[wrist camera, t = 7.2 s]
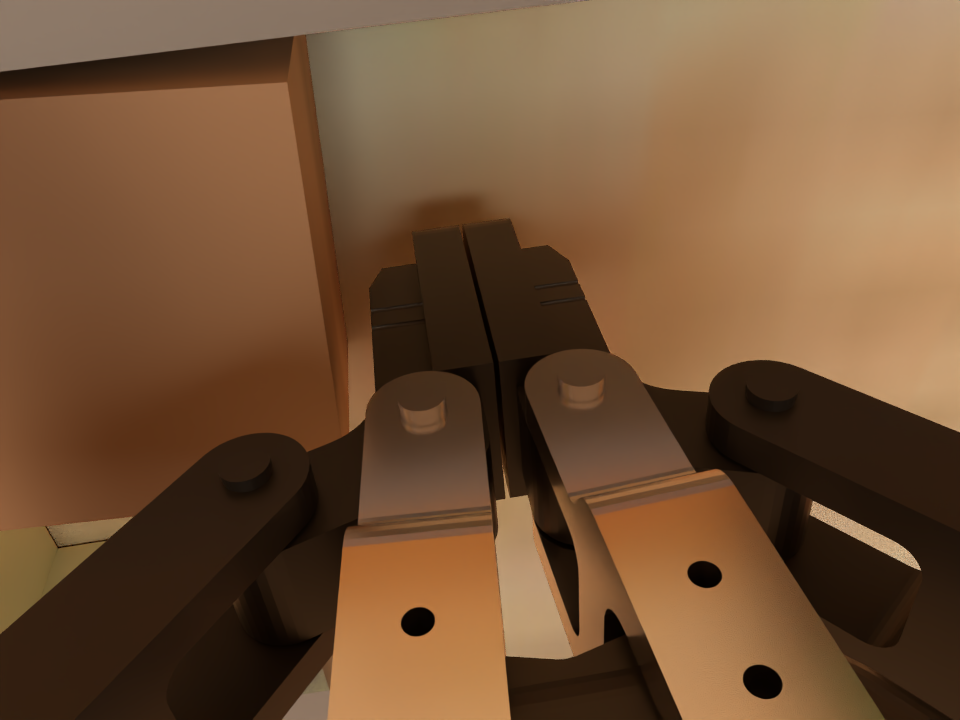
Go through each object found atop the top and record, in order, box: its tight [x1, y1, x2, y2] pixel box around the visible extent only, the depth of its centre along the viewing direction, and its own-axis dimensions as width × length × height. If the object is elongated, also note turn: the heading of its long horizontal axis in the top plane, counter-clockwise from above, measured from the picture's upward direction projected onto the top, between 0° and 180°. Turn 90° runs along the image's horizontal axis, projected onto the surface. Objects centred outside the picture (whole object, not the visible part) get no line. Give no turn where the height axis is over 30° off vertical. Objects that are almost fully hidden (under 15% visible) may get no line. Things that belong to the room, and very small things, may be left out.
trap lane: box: [0, 0, 587, 720], centre depth 16 cm, size 28×21×4 cm
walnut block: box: [0, 35, 349, 531], centre depth 12 cm, size 6×6×4 cm
